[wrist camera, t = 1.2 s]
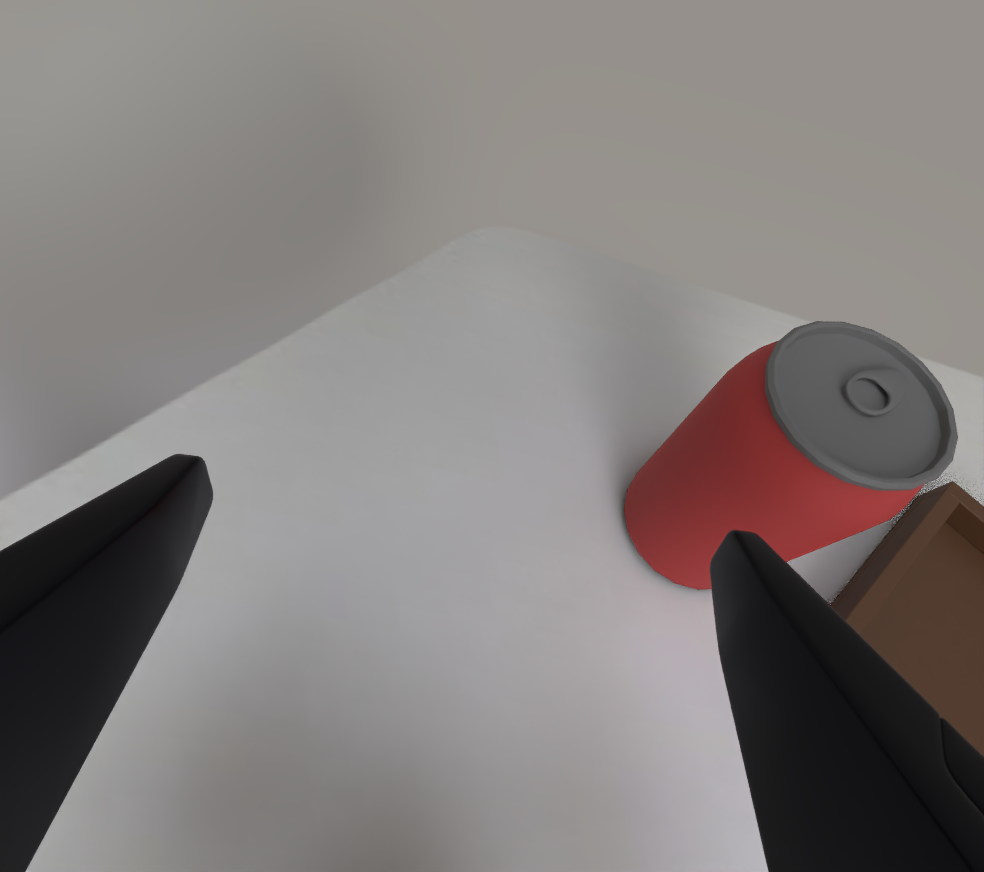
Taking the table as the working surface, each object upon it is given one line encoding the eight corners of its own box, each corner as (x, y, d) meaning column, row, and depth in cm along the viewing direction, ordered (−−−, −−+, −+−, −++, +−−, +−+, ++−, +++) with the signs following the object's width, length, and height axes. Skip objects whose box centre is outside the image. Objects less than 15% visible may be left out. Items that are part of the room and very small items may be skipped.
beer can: (780, 548, 26) (1025, 440, 15) (678, 620, 24) (877, 552, 13) (694, 439, 28) (855, 278, 18) (593, 496, 26) (705, 353, 16)
